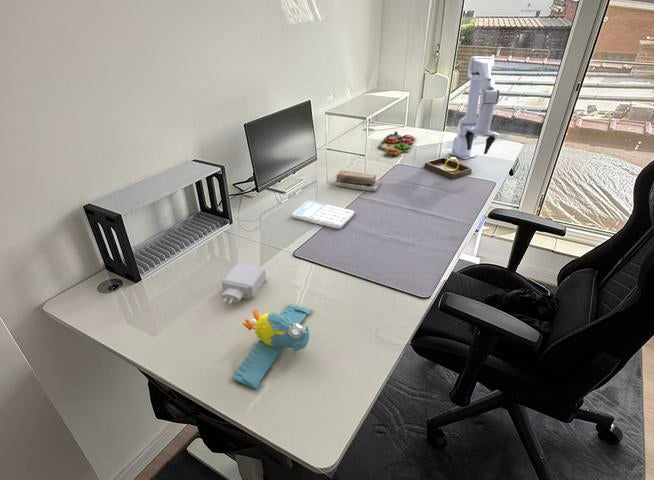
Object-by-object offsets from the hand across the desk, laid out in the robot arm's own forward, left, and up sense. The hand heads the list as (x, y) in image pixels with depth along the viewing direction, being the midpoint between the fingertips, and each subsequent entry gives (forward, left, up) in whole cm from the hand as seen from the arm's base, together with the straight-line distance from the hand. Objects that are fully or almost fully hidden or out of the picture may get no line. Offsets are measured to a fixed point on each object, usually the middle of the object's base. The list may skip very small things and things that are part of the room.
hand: (477, 151), depth 185 cm
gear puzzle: (-45, -7, -10) cm, 47 cm away
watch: (-6, -8, -10) cm, 14 cm away
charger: (+25, -126, -10) cm, 128 cm away
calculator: (-1, -81, -10) cm, 81 cm away
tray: (-8, -8, -10) cm, 15 cm away
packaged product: (-17, -53, -10) cm, 56 cm away
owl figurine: (+48, -126, -10) cm, 135 cm away
